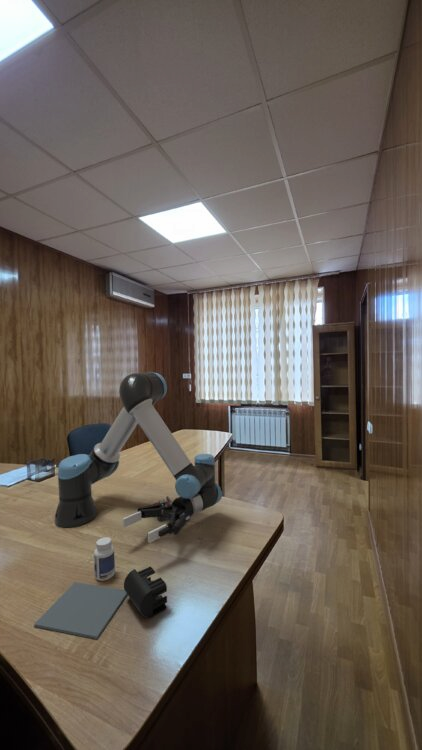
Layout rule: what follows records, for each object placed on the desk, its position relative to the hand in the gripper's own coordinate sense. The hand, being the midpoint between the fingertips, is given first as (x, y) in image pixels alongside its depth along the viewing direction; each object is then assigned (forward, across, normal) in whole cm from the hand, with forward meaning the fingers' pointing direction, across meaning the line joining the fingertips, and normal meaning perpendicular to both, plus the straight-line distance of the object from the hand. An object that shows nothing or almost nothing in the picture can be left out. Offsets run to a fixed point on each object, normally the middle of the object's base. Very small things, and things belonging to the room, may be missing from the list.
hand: (135, 530), depth 94 cm
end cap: (+9, -17, -9) cm, 22 cm away
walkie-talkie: (-26, +19, -9) cm, 34 cm away
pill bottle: (+10, 0, -9) cm, 13 cm away
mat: (+19, -7, -9) cm, 22 cm away
